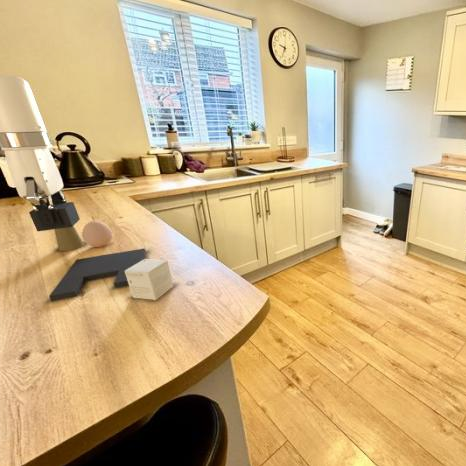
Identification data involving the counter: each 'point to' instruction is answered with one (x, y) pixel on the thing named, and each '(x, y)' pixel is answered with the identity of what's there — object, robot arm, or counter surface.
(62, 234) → the olive pepper mill
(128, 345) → the counter surface
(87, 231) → the egg
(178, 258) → the counter surface
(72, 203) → the foam pad
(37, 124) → the robot arm
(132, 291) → the product box
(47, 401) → the counter surface
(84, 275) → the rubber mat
